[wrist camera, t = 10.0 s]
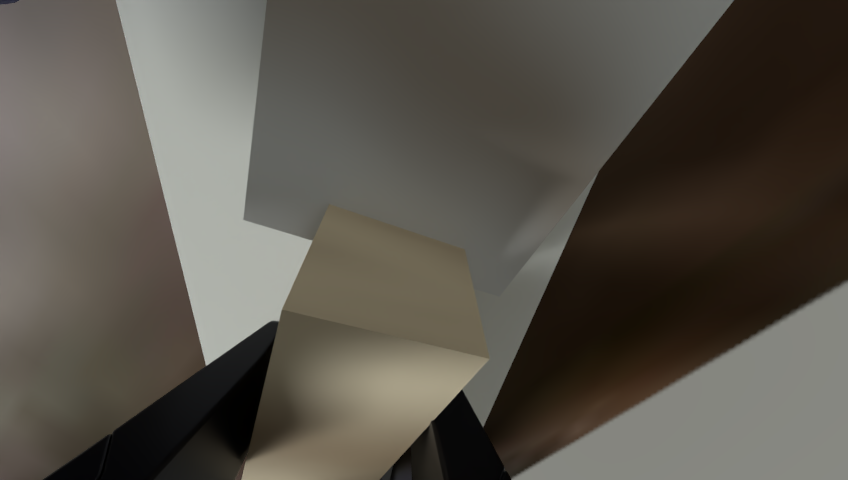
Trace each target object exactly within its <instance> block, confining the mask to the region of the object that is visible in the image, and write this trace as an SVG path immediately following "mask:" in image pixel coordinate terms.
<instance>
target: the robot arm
mask: <svg viewBox="0 0 848 480" xmlns="http://www.w3.org/2000/svg"><path fill="white" fill-rule="evenodd" d="M278 324H279V321H270V322H268V323H267V324H265V325H264V326H262V327H261V328H260V329H258V330H257V331H255V332H254V333H252V334H251V335H250V336H248V337H247V338H245V339H244V340H242V341H241V342H240V343H238V344H237V345H235V346H234V347H233V348H231V349H230V350H228V351H227V352H225V353H224V354H223V355H221V356H220V357H218V358H217V359H215V360H214V361H213V362H211V363H210V364H208V365H207V366H205V367H204V368H203V369H201V370H200V371H198V372H197V373H195V374H194V375H193V376H191V377H190V378H188V379H187V380H185V381H184V382H183V383H181V384H180V385H178V386H177V387H175V388H174V389H173V390H171V391H170V392H168V393H167V394H165V395H164V396H163V397H161V398H160V399H158V400H157V401H155V402H154V403H153V404H151V405H150V406H148V407H147V408H146V409H144V410H143V411H141V412H140V413H138V414H137V415H136V416H134V417H133V418H131V419H130V420H128V421H127V422H126V423H124V424H123V425H121V426H120V427H118V428H117V429H116V430H114V431H113V434H109V435H107V436H105V437H104V438H102V439H101V440H100V441H98V442H97V443H95V444H94V445H92V446H91V447H90V448H88V449H87V450H85V451H84V452H82V453H81V454H80V455H78V456H77V457H75V458H74V459H72V460H71V461H69V462H68V463H66V464H65V465H63V466H62V467H60V468H59V469H57V470H56V471H54V472H53V473H52V474H50V475H49V476H47V477H46V478H44V479H43V480H235V478H236V476H237V474H238V472H239V470H240V468H241V465H242V463H243V461H244V459H245V457H246V455H247V453H248V450H249V446H250V442H251V438H252V433H253V429H254V425H255V421H256V417H257V412H258V408H259V404H260V400H261V395H262V391H263V387H264V383H265V379H266V374H267V370H268V366H269V362H270V357H271V353H272V349H273V345H274V341H275V336H276V332H277V328H278ZM411 464H412V480H511V478H510V476H509V474H508V472H507V471H504V470H505V467H504V465H503V463H502V462H501V460H500V458H499V456H498V454H497V452H496V451H495V449H494V447H493V445H492V443H491V441H490V439H489V438H488V436H487V434H486V432H485V430H484V428H483V427H482V425H481V423H480V421H479V419H478V417H477V416H476V414H475V412H474V410H473V408H472V406H471V404H470V403H469V401H468V399H467V397H466V395H465V393H464V392H463V390H461V391H460V392H459V393H458V394H457V395H456V396H455V398H454V399H453V400H452V401H451V402H450V403H449V404H448V405H447V406H446V407H445V408H444V410H443V411H442V412H441V413H440V414H439V415H438V416H437V417H436V418H435V419H434V420H432V421H431V422H430V425H429V426H428V427H427V428H426V429H425V430H424V431H423V433H422V434H421V435H420V436H419V437H418V438H417V439H416V440H415V441H414V442H413V444H412V445H411ZM392 468H393V465H392V466H391V468H390V469H389V470H388V471H387V472H386V473H385V474H384V475H383V476H382V477H381V479H380V480H390V477H391V472H392Z"/></svg>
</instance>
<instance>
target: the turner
mask: <svg viewBox="0 0 848 480" xmlns="http://www.w3.org/2000/svg"><path fill="white" fill-rule="evenodd" d="M733 1H734V0H267V4H266V13H265V22H264V32H263V41H262V50H261V60H260V69H259V78H258V87H257V97H256V106H255V115H254V125H253V134H252V143H251V152H250V162H249V171H248V180H247V190H246V199H245V208H244V217H243V220H245V221H248V222H252V223H255V224H258V225H262V226H265V227H268V228H272V229H275V230H278V231H282V232H285V233H288V234H292V235H295V236H298V237H302V238H305V239H308V240H312V244H311V246H310V248H309V250H308V252H307V255H306V257H305V259H304V261H303V264H302V266H301V268H300V270H299V272H298V275H297V277H296V279H295V281H294V284H293V286H292V288H291V290H290V292H289V295H288V297H287V299H286V301H285V304H284V306H283V308H282V311H281V315H280V319H279V324H278V328H277V332H276V336H275V341H274V345H273V349H272V353H271V357H270V362H269V366H268V370H267V374H266V379H265V383H264V387H263V391H262V395H261V400H260V404H259V408H258V412H257V417H256V421H255V425H254V429H253V433H252V438H251V442H250V446H249V450H248V455H247V459H246V463H245V467H244V471H243V476H242V480H380V479H381V477H382V476H383V475H384V474H385V473H386V472H387V471H388V470H389V469H390V468H391V466H392V465H393V464H394V463H395V462H396V461H397V460H398V459H399V458H400V457H401V456H402V454H403V453H404V452H405V451H406V450H407V449H408V448H409V447H410V446H411V445H412V444H413V442H414V441H415V440H416V439H417V438H418V437H419V436H420V435H421V434H422V433H423V431H424V430H425V429H426V428H427V427H428V426H429V425H430V422H431V421H432V420H434V419H435V418H436V417H437V416H438V415H439V414H440V413H441V412H442V411H443V410H444V408H445V407H446V406H447V405H448V404H449V403H450V402H451V401H452V400H453V399H454V398H455V396H456V395H457V394H458V393H459V392H460V391H461V390H462V389H463V388H464V387H465V386H466V384H467V383H468V382H469V381H470V380H471V379H472V378H473V377H474V376H475V375H476V373H477V372H478V371H479V370H480V369H481V368H482V367H483V366H484V365H485V364H486V363H487V361H488V360H489V359H490V358H489V353H488V349H487V344H486V340H485V336H484V331H483V327H482V323H481V318H480V314H479V309H478V305H477V301H476V296H475V292H474V289H476V290H479V291H482V292H486V293H489V294H492V295H496V296H499V297H500V295H501V294H502V293H503V291H504V290H505V289H506V288H507V286H508V285H509V284H510V283H511V281H512V280H513V279H514V278H515V276H516V275H517V274H518V273H519V271H520V270H521V269H522V267H523V266H524V265H525V264H526V262H527V261H528V260H529V259H530V257H531V256H532V255H533V254H534V252H535V251H536V250H537V249H538V247H539V246H540V245H541V243H542V242H543V241H544V240H545V238H546V237H547V236H548V235H549V233H550V232H551V231H552V230H553V228H554V227H555V226H556V225H557V223H558V222H559V221H560V219H561V218H562V217H563V216H564V214H565V213H566V212H567V211H568V209H569V208H570V207H571V206H572V204H573V203H574V202H575V201H576V199H577V198H578V197H579V195H580V194H581V193H582V192H583V190H584V189H585V188H586V187H587V185H588V184H589V183H590V182H591V180H592V179H593V178H594V177H595V175H596V174H597V173H598V171H599V170H600V169H601V168H602V166H603V165H604V164H605V163H606V161H607V160H608V159H609V158H610V156H611V155H612V154H613V153H614V151H615V150H616V149H617V147H618V146H619V145H620V144H621V142H622V141H623V140H624V139H625V137H626V136H627V135H628V134H629V132H630V131H631V130H632V129H633V127H634V126H635V125H636V123H637V122H638V121H639V120H640V118H641V117H642V116H643V115H644V113H645V112H646V111H647V110H648V108H649V107H650V106H651V105H652V103H653V102H654V101H655V99H656V98H657V97H658V96H659V94H660V93H661V92H662V91H663V89H664V88H665V87H666V86H667V84H668V83H669V82H670V81H671V79H672V78H673V77H674V75H675V74H676V73H677V72H678V70H679V69H680V68H681V67H682V65H683V64H684V63H685V62H686V60H687V59H688V58H689V57H690V55H691V54H692V53H693V51H694V50H695V49H696V48H697V46H698V45H699V44H700V43H701V41H702V40H703V39H704V38H705V36H706V35H707V34H708V33H709V31H710V30H711V29H712V27H713V26H714V25H715V24H716V22H717V21H718V20H719V19H720V17H721V16H722V15H723V14H724V12H725V11H726V10H727V9H728V7H729V6H730V5H731V3H732V2H733Z"/></svg>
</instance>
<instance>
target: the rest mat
mask: <svg viewBox="0 0 848 480" xmlns="http://www.w3.org/2000/svg"><path fill="white" fill-rule="evenodd" d="M116 3H117V7H118V11H119V15H120V19H121V23H122V27H123V31H124V35H125V39H126V43H127V47H128V52H129V56H130V60H131V64H132V68H133V72H134V76H135V80H136V84H137V88H138V92H139V96H140V100H141V104H142V108H143V112H144V116H145V120H146V124H147V128H148V132H149V136H150V140H151V144H152V149H153V153H154V157H155V161H156V165H157V169H158V173H159V177H160V181H161V185H162V189H163V193H164V197H165V201H166V205H167V209H168V213H169V217H170V221H171V225H172V229H173V233H174V237H175V241H176V245H177V250H178V254H179V258H180V262H181V266H182V270H183V274H184V278H185V282H186V286H187V290H188V294H189V298H190V302H191V306H192V310H193V314H194V318H195V322H196V326H197V330H198V334H199V338H200V342H201V347H202V351H203V355H204V359H205V363H206V366H207V365H208V364H210V363H211V362H213V361H214V360H215V359H217V358H218V357H220V356H221V355H223V354H224V353H225V352H227V351H228V350H230V349H231V348H233V347H234V346H235V345H237V344H238V343H240V342H241V341H242V340H244V339H245V338H247V337H248V336H250V335H251V334H252V333H254V332H255V331H257V330H258V329H260V328H261V327H262V326H264V325H265V324H267V323H268V322H270V321H279V319H280V315H281V311H282V308H283V306H284V304H285V301H286V299H287V297H288V295H289V292H290V290H291V288H292V286H293V284H294V281H295V279H296V277H297V275H298V272H299V270H300V268H301V266H302V264H303V261H304V259H305V257H306V255H307V252H308V250H309V248H310V246H311V244H312V240H308V239H305V238H302V237H298V236H295V235H292V234H288V233H285V232H282V231H278V230H275V229H272V228H268V227H265V226H262V225H258V224H255V223H252V222H248V221H245V220H243V217H244V208H245V199H246V190H247V180H248V171H249V162H250V152H251V143H252V134H253V125H254V115H255V106H256V97H257V87H258V78H259V69H260V60H261V50H262V41H263V32H264V22H265V13H266V4H267V0H116ZM598 172H599V171H598ZM597 174H598V173H597ZM597 174H596V175H595V177H594V178H593V179H592V180H591V182H590V183H589V184H588V185H587V187H586V188H585V189H584V190H583V192H582V193H581V194H580V195H579V197H578V198H577V199H576V201H575V202H574V203H573V204H572V206H571V207H570V208H569V209H568V211H567V212H566V213H565V214H564V216H563V217H562V218H561V219H560V221H559V222H558V223H557V225H556V226H555V227H554V228H553V230H552V231H551V232H550V233H549V235H548V236H547V237H546V238H545V240H544V241H543V242H542V243H541V245H540V246H539V247H538V249H537V250H536V251H535V252H534V254H533V255H532V256H531V257H530V259H529V260H528V261H527V262H526V264H525V265H524V266H523V267H522V269H521V270H520V271H519V273H518V274H517V275H516V276H515V278H514V279H513V280H512V281H511V283H510V284H509V285H508V286H507V288H506V289H505V290H504V291H503V293H502V294H501V295H500V297H499V296H496V295H492V294H489V293H486V292H482V291H479V290H476V289H474V292H475V296H476V301H477V305H478V309H479V314H480V318H481V323H482V327H483V331H484V336H485V340H486V344H487V349H488V353H489V358H490V359H489V360H488V361H487V363H486V364H485V365H484V366H483V367H482V368H481V369H480V370H479V371H478V372H477V373H476V375H475V376H474V377H473V378H472V379H471V380H470V381H469V382H468V383H467V384H466V386H465V387H464V388H463V389H462V390H463V392H464V393H465V395H466V397H467V399H468V401H469V403H470V404H471V406H472V408H473V410H474V412H475V414H476V416H477V417H478V419H479V421H480V423H481V425H482V427H484V424H485V422H486V420H487V418H488V416H489V413H490V411H491V409H492V407H493V404H494V402H495V400H496V398H497V396H498V393H499V391H500V389H501V387H502V384H503V382H504V380H505V378H506V376H507V373H508V371H509V369H510V367H511V365H512V362H513V360H514V358H515V356H516V353H517V351H518V349H519V347H520V345H521V342H522V340H523V338H524V336H525V333H526V331H527V329H528V327H529V325H530V322H531V320H532V318H533V316H534V314H535V311H536V309H537V307H538V305H539V302H540V300H541V298H542V296H543V294H544V291H545V289H546V287H547V285H548V282H549V280H550V278H551V276H552V274H553V271H554V269H555V267H556V265H557V262H558V260H559V258H560V256H561V254H562V251H563V249H564V247H565V245H566V243H567V240H568V238H569V236H570V234H571V231H572V229H573V227H574V225H575V223H576V220H577V218H578V216H579V214H580V211H581V209H582V207H583V205H584V203H585V200H586V198H587V196H588V194H589V192H590V189H591V187H592V185H593V183H594V180H595V178H596V176H597Z"/></svg>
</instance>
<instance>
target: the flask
mask: <svg viewBox="0 0 848 480" xmlns="http://www.w3.org/2000/svg"><path fill="white" fill-rule="evenodd" d="M17 1H19V0H0V4H9V3H15V2H17Z"/></svg>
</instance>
